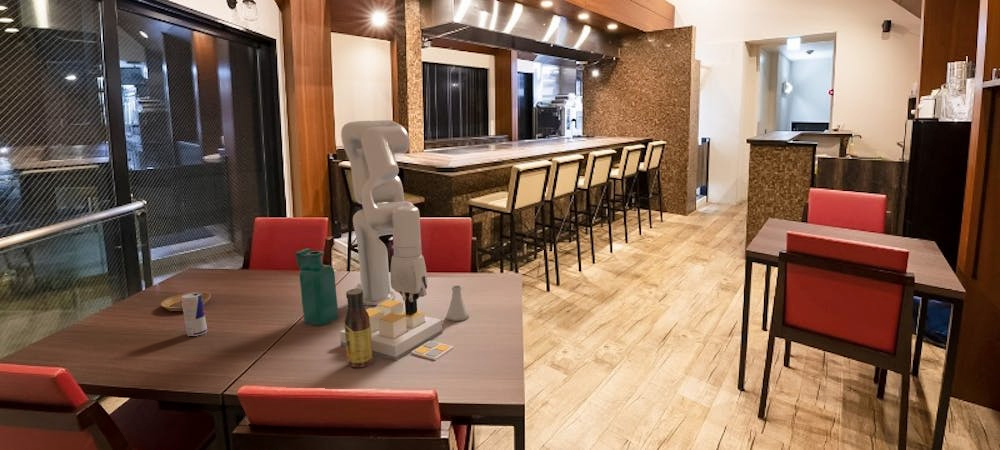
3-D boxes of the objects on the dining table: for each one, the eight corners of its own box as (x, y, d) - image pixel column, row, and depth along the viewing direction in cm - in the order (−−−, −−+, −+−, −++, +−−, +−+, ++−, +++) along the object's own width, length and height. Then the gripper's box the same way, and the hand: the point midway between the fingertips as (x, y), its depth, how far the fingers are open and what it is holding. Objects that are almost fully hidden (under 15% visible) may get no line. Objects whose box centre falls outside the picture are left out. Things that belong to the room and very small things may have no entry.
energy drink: (211, 331, 164) (206, 293, 162) (196, 338, 159) (190, 299, 157) (197, 329, 166) (192, 291, 163) (182, 336, 161) (176, 297, 159)
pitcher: (341, 317, 173) (335, 249, 168) (322, 327, 166) (315, 256, 161) (317, 312, 177) (310, 246, 172) (297, 322, 170) (290, 253, 165)
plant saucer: (167, 318, 176) (166, 310, 175) (157, 306, 187) (156, 299, 186) (217, 306, 185) (216, 299, 185) (205, 296, 196) (204, 289, 196)
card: (411, 353, 147) (411, 351, 146) (430, 342, 153) (429, 339, 153) (435, 360, 142) (435, 357, 142) (453, 348, 149) (453, 345, 149)
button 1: (357, 330, 153) (356, 313, 152) (371, 323, 158) (369, 307, 157) (371, 334, 151) (370, 316, 150) (384, 327, 155) (383, 310, 154)
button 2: (378, 320, 160) (376, 304, 159) (390, 314, 164) (389, 298, 163) (391, 323, 157) (390, 307, 156) (403, 317, 162) (402, 301, 161)
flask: (465, 322, 167) (464, 291, 165) (443, 321, 168) (441, 290, 166) (471, 313, 174) (470, 283, 172) (449, 312, 175) (448, 282, 173)
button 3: (379, 336, 149) (378, 318, 148) (392, 329, 154) (391, 312, 153) (393, 339, 147) (392, 322, 146) (406, 332, 151) (405, 315, 150)
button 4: (399, 331, 156) (398, 314, 155) (411, 324, 161) (410, 308, 160) (413, 334, 154) (412, 318, 153) (425, 328, 158) (424, 311, 157)
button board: (341, 344, 153) (340, 331, 152) (390, 320, 170) (389, 308, 169) (395, 360, 143) (394, 346, 142) (442, 332, 160) (441, 319, 159)
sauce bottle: (350, 358, 145) (344, 286, 140) (374, 357, 145) (369, 285, 141) (345, 370, 138) (339, 295, 134) (371, 368, 139) (365, 294, 134)
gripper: (378, 250, 153) (382, 313, 157) (420, 257, 145) (423, 322, 149) (396, 244, 159) (400, 304, 163) (437, 250, 151) (440, 313, 155)
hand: (411, 313), depth 156 cm, fingers closed
